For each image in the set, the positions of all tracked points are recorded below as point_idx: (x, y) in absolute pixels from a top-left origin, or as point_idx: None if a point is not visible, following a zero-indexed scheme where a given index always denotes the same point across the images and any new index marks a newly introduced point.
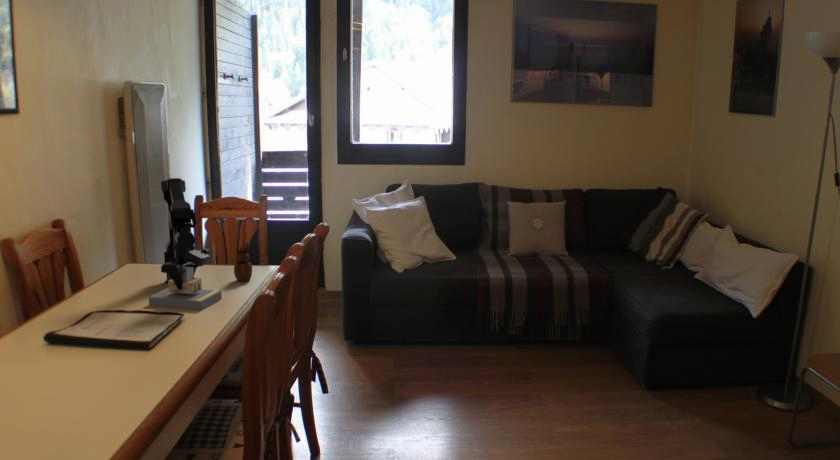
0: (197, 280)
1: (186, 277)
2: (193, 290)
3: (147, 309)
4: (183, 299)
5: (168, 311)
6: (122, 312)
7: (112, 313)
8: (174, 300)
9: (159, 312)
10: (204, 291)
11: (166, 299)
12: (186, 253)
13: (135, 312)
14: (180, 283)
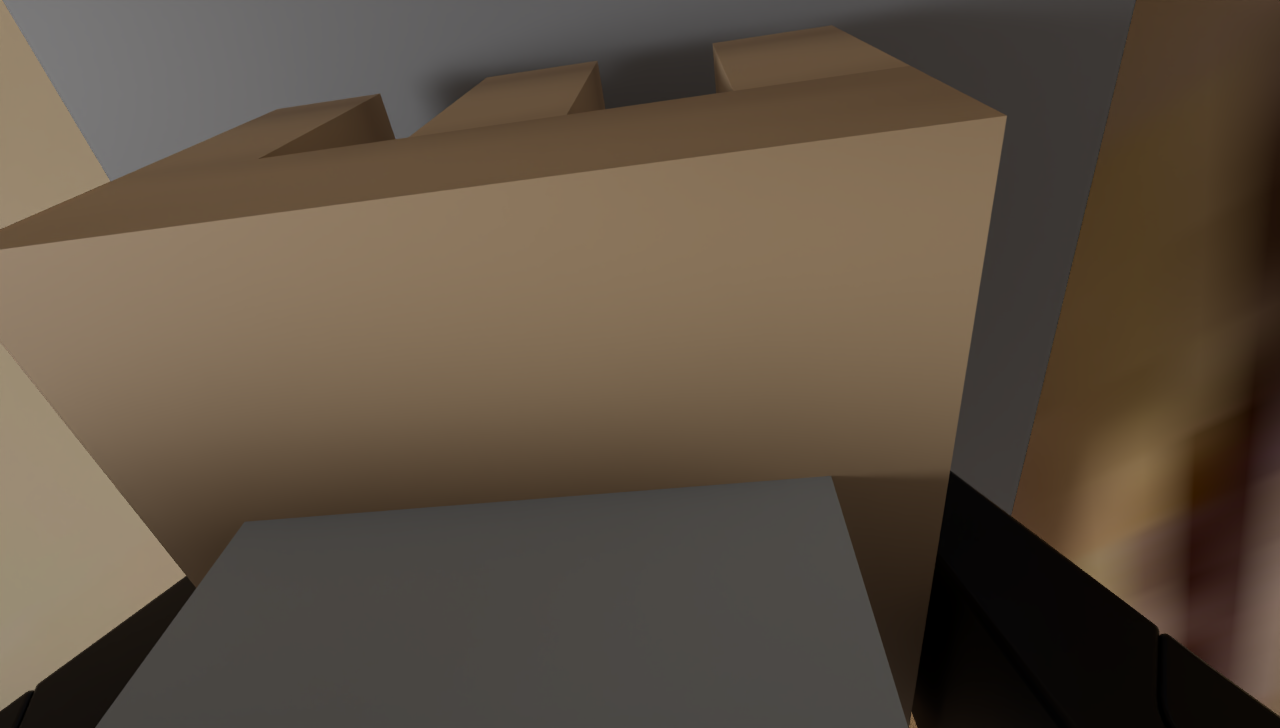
0: (343, 199)
1: (890, 693)
2: (781, 49)
3: (1103, 519)
4: (1074, 116)
5: (1216, 212)
6: (1236, 651)
7: (1270, 695)
8: (1038, 317)
9: (1272, 310)
10: (221, 83)
11: (1009, 465)
12: None
13: (1246, 559)
14: (1057, 561)
